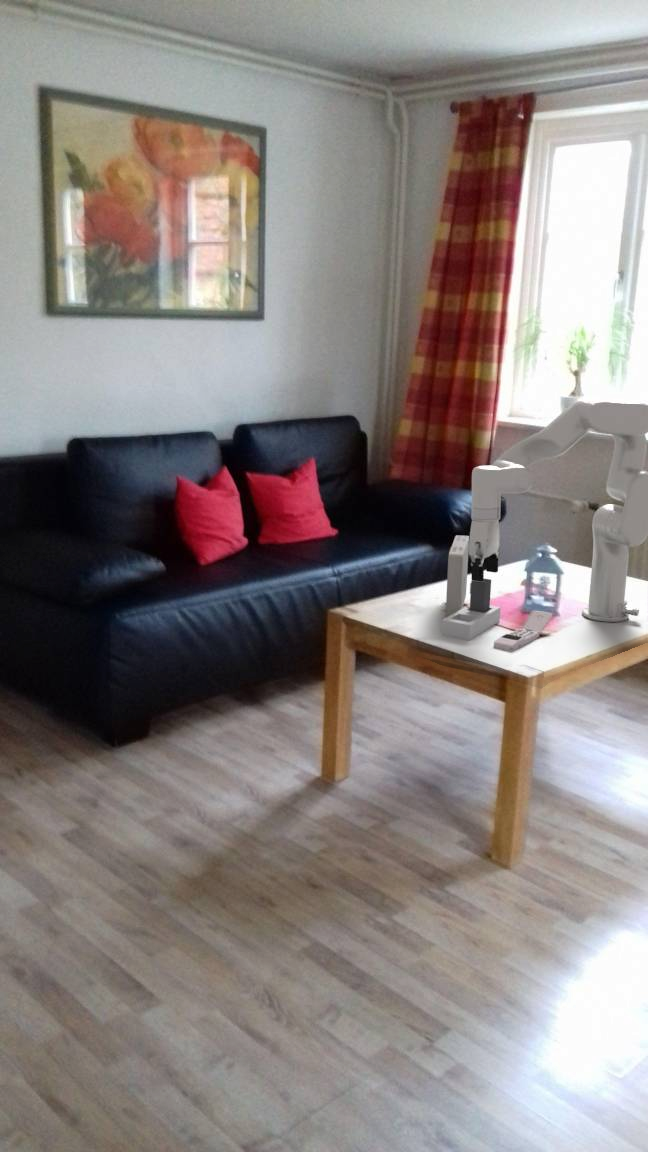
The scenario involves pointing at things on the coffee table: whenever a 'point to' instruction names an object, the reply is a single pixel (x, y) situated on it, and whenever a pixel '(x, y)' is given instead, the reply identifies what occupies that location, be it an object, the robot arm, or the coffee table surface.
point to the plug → (480, 595)
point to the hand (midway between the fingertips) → (484, 576)
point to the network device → (457, 575)
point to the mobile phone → (524, 632)
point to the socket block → (469, 622)
